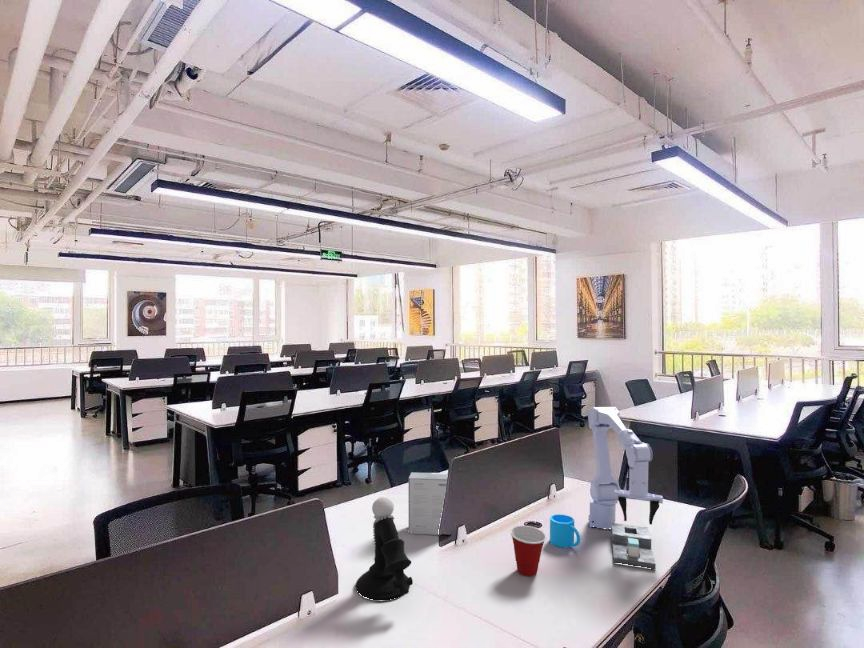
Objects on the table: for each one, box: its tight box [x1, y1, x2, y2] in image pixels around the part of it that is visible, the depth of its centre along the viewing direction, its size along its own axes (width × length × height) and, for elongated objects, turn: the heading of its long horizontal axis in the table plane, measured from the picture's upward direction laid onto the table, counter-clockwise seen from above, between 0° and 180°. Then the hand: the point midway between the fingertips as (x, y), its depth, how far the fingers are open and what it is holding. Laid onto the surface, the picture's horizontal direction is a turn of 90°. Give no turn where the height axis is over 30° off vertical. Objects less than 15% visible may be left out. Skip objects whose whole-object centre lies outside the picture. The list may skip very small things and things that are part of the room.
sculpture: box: [355, 497, 413, 601], centre depth 137 cm, size 15×24×25 cm, turn 27°
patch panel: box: [610, 522, 657, 570], centre depth 164 cm, size 12×22×4 cm, turn 162°
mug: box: [549, 513, 581, 548], centre depth 169 cm, size 12×8×8 cm
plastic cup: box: [510, 525, 547, 577], centre depth 150 cm, size 11×11×12 cm
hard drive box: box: [408, 471, 448, 536], centre depth 179 cm, size 16×8×20 cm, turn 84°
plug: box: [628, 538, 639, 558], centre depth 158 cm, size 3×4×6 cm
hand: (637, 521), depth 163 cm, fingers open, 7 cm apart
